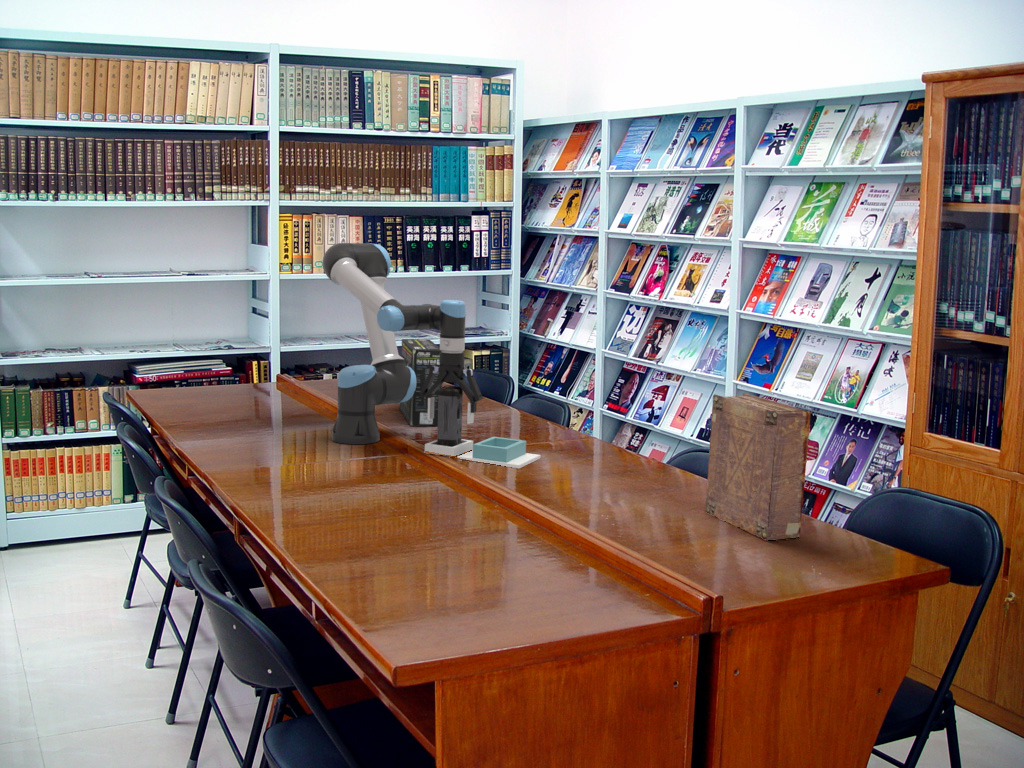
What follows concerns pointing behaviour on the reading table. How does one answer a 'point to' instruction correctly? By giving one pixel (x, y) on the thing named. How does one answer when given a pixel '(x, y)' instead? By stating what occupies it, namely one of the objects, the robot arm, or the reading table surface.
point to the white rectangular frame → (450, 448)
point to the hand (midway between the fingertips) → (450, 421)
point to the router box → (420, 380)
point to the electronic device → (449, 415)
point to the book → (757, 465)
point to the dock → (501, 452)
